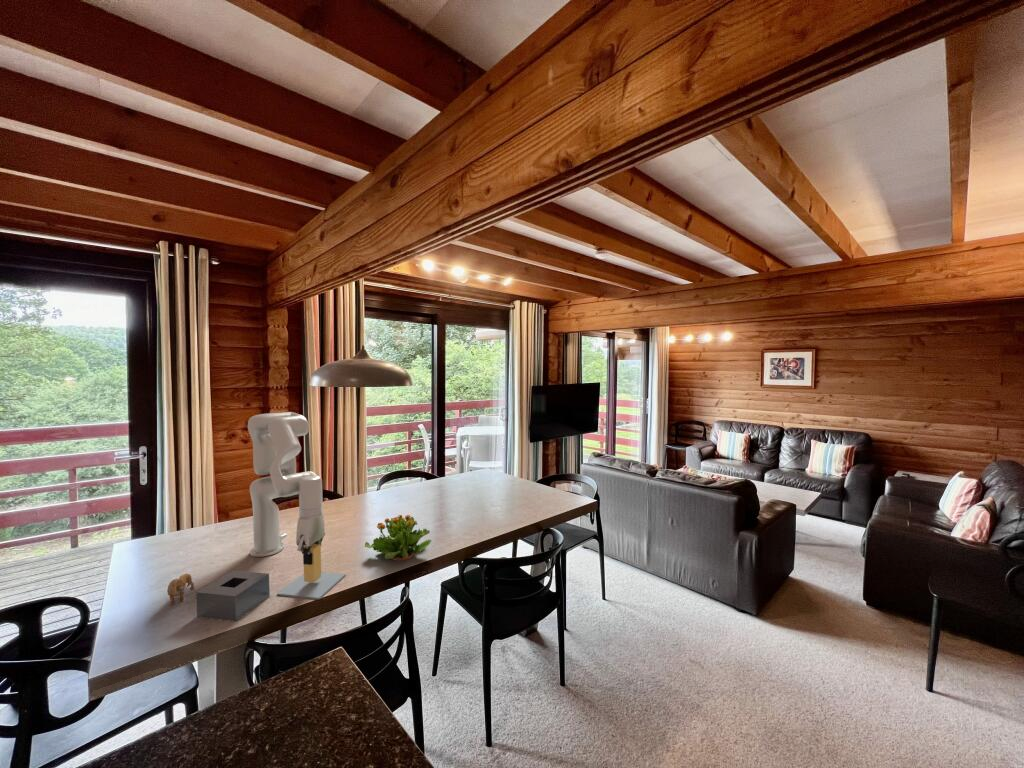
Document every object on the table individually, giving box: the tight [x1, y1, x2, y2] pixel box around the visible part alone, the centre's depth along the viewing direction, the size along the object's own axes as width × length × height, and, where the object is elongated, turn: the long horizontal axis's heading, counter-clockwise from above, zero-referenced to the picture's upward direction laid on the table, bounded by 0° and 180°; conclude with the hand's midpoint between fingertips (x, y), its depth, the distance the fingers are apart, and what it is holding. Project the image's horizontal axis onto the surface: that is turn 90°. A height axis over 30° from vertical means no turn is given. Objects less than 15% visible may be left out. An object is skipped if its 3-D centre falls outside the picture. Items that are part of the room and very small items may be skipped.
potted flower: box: [364, 514, 432, 562], centre depth 171 cm, size 25×24×18 cm
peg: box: [303, 543, 322, 582], centre depth 148 cm, size 4×4×12 cm
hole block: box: [195, 569, 270, 622], centre depth 135 cm, size 14×14×8 cm
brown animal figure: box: [166, 573, 195, 606], centre depth 140 cm, size 15×5×9 cm, turn 27°
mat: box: [276, 571, 347, 600], centre depth 148 cm, size 16×16×1 cm
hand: (312, 560), depth 148 cm, fingers closed on peg, 4 cm apart
